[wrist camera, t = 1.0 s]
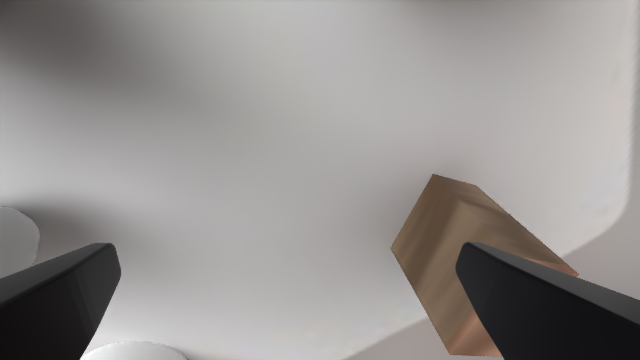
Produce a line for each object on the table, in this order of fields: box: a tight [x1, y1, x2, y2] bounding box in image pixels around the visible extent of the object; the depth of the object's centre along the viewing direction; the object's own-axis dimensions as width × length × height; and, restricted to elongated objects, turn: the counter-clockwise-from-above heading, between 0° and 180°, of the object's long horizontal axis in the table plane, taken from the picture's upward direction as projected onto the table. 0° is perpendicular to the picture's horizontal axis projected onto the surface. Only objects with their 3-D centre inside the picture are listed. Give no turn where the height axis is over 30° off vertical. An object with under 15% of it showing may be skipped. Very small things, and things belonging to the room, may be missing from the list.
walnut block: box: [391, 174, 579, 357], centre depth 22 cm, size 4×7×9 cm, turn 160°
